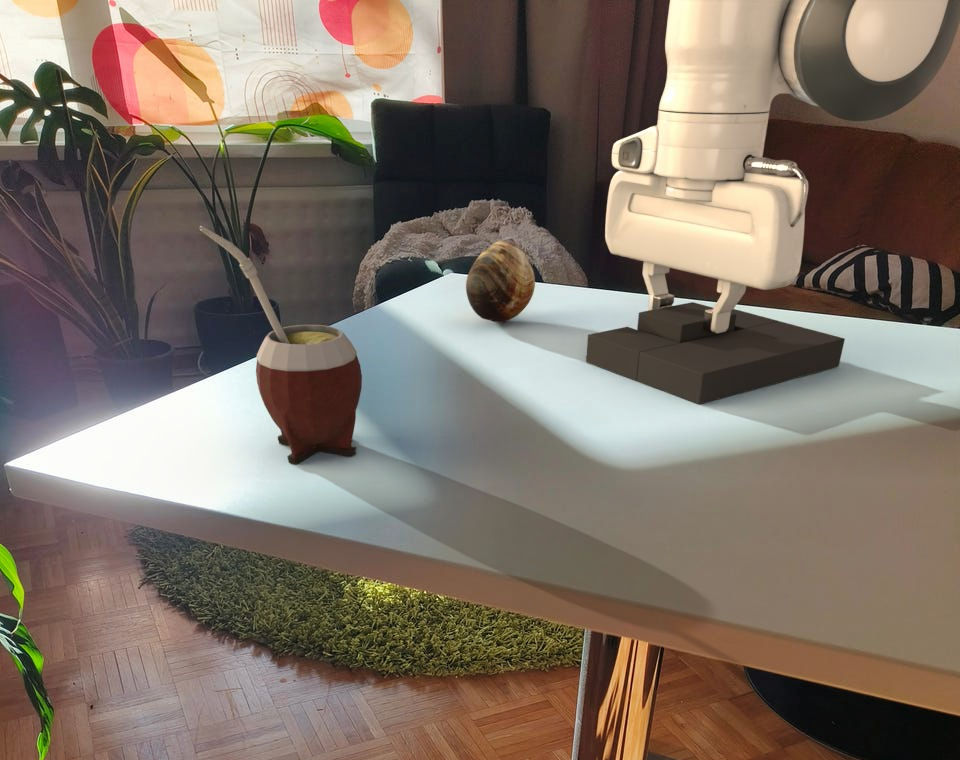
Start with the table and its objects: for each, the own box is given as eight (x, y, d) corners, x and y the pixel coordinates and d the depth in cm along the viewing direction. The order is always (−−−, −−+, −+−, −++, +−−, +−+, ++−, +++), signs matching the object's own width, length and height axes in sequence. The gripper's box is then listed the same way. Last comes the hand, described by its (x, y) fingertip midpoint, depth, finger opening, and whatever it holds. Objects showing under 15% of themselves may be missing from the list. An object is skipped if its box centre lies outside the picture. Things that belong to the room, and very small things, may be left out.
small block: (689, 328, 86) (692, 301, 85) (732, 341, 82) (736, 313, 81) (635, 340, 83) (638, 312, 81) (678, 354, 79) (682, 325, 78)
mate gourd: (383, 439, 65) (369, 215, 57) (325, 478, 59) (300, 234, 51) (298, 424, 68) (272, 207, 59) (234, 460, 62) (195, 225, 54)
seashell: (504, 308, 98) (505, 229, 93) (548, 316, 95) (551, 235, 90) (450, 326, 91) (449, 242, 87) (496, 336, 89) (497, 249, 84)
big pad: (721, 332, 90) (725, 306, 88) (839, 366, 80) (845, 338, 79) (585, 362, 81) (587, 334, 80) (699, 404, 72) (703, 373, 70)
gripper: (838, 160, 68) (801, 343, 76) (650, 140, 82) (636, 296, 90) (784, 165, 65) (751, 355, 73) (599, 144, 79) (588, 305, 87)
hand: (686, 322), depth 82 cm, fingers closed on small block, 5 cm apart
